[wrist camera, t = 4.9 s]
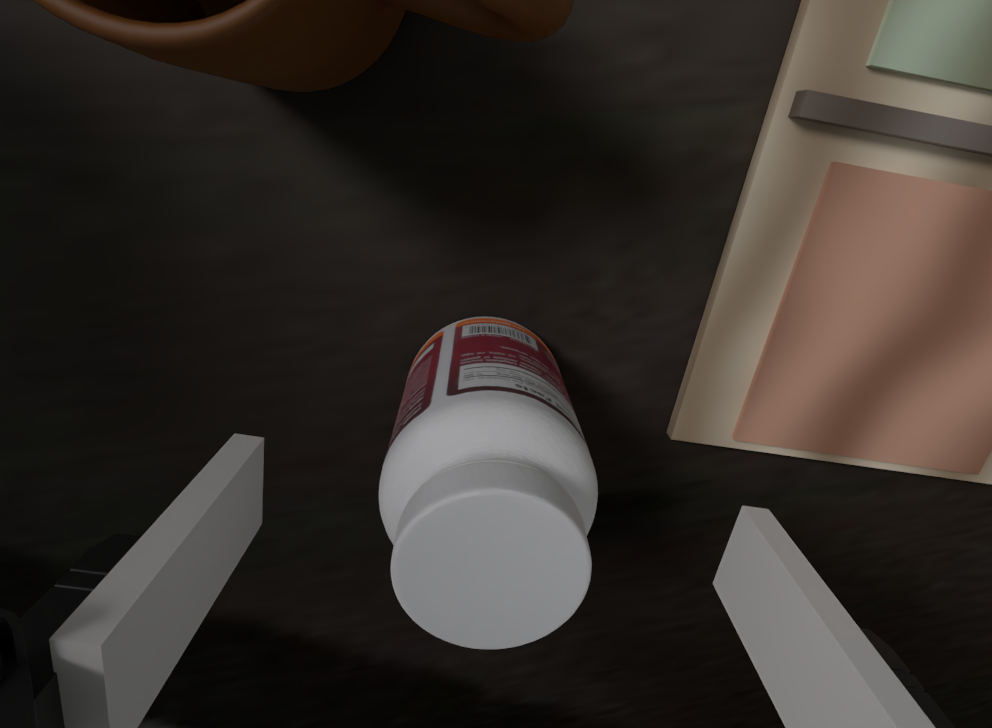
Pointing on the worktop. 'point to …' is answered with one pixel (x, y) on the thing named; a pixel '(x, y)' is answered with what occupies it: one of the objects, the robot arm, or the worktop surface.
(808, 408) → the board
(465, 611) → the pill bottle
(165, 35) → the mug
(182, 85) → the worktop surface
